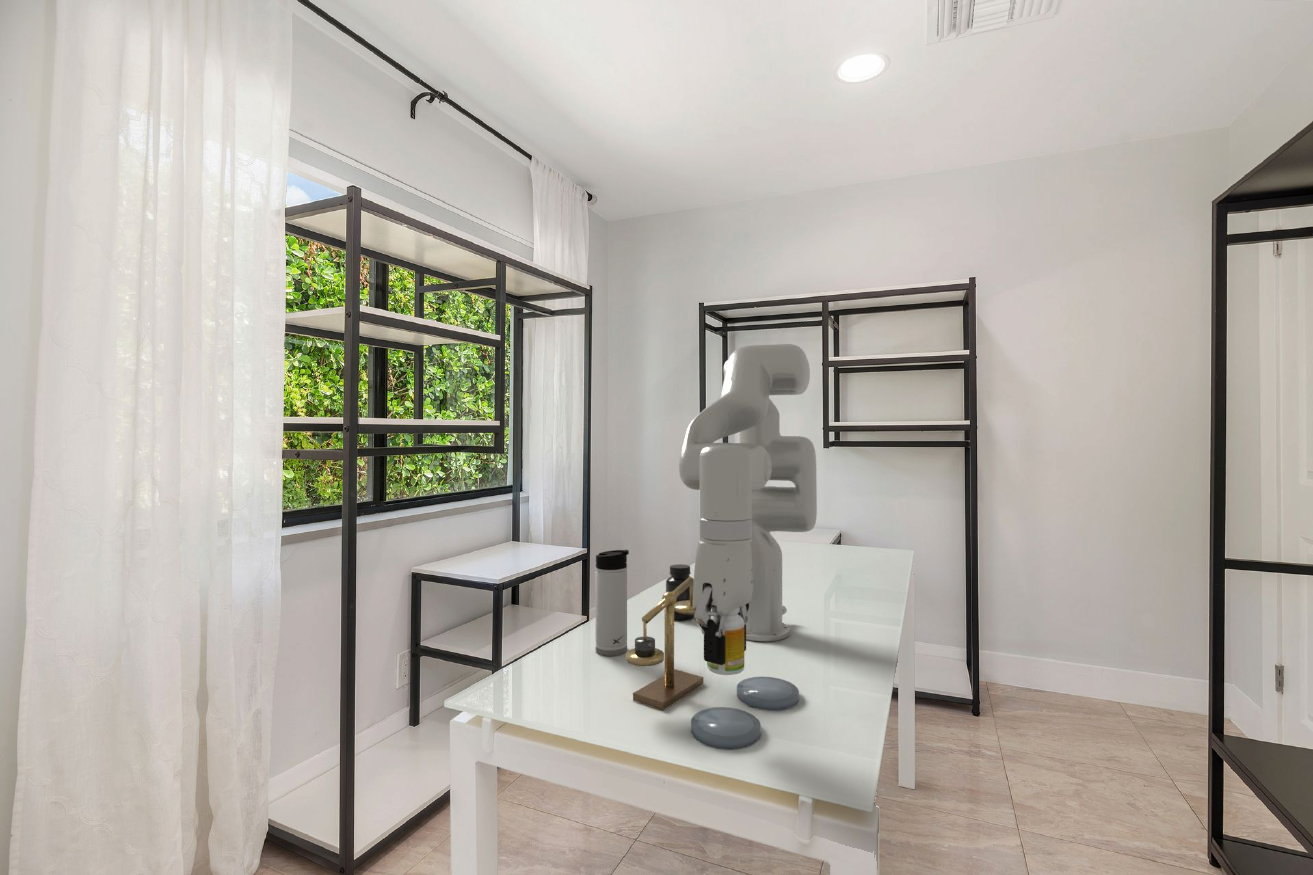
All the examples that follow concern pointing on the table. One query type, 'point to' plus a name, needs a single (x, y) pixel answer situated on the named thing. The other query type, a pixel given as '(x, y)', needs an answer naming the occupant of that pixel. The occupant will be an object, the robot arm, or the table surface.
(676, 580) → the supplement bottle
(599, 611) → the travel mug
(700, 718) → the dish low side
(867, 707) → the table surface
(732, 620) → the supplement bottle
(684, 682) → the balance
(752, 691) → the dish high side
